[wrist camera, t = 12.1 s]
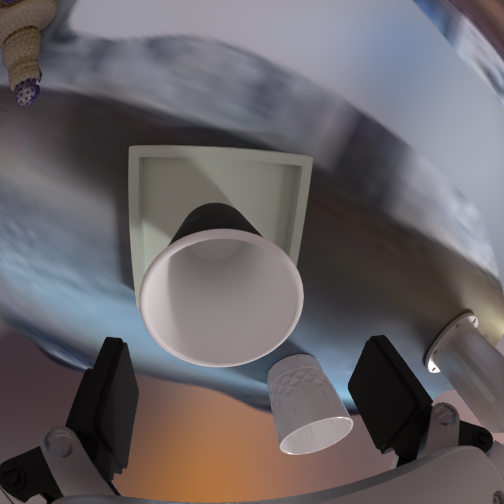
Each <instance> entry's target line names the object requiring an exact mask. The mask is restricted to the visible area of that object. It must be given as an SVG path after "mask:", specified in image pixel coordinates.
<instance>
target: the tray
mask: <svg viewBox="0 0 504 504" xmlns="http://www.w3.org/2000/svg"><path fill="white" fill-rule="evenodd" d="M312 165H313V157H311V156H307V155H302V154H294V153H286V152H277V151H268V150H258V149H246V148H233V147H217V146H195V145H134V146H129V169H128V195H129V227H130V244H131V257H132V268H133V278H134V287H135V296H136V303H137V309H140V305H139V293H140V287H141V283H142V280H143V277H144V275H145V273H146V271H147V269H148V267H149V266H150V264H151V263H152V261H153V260H154V259H155V258H156V257H157V256H158V255H159V254H160V253H161V252H162V251H163V250H164V249H165V248H167V247H168V245H169V243H170V242H171V240H172V239H173V237H174V236H175V234H176V232H177V231H178V229H179V228H180V226H181V225H182V223H183V222H184V220H185V219H186V217H187V216H188V215H189V214H190V213H191V212H192V211H193V210H194V209H196V208H197V207H199V206H201V205H204V204H207V203H223V204H227V205H230V206H232V207H234V208H235V209H237V210H238V211H239V212H240V213H241V214H242V215H243V216H244V217H245V218H246V219H247V220H248V221H249V222H250V224H251V225H252V226H253V227H254V228H255V229H256V230H257V231H258V232H259V233H260V234H261V235H262V236H263V237H264V238H265V239H267V240H269V241H271V242H272V243H274V244H275V245H277V246H278V247H279V248H280V249H282V250H283V251H284V252H285V253H286V254H287V255H288V256H289V258H290V259H291V260H292V262H293V263H294V264H295V266H296V267H297V262H298V256H299V250H300V244H301V238H302V232H303V226H304V220H305V214H306V207H307V200H308V194H309V187H310V180H311V172H312Z"/></svg>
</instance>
